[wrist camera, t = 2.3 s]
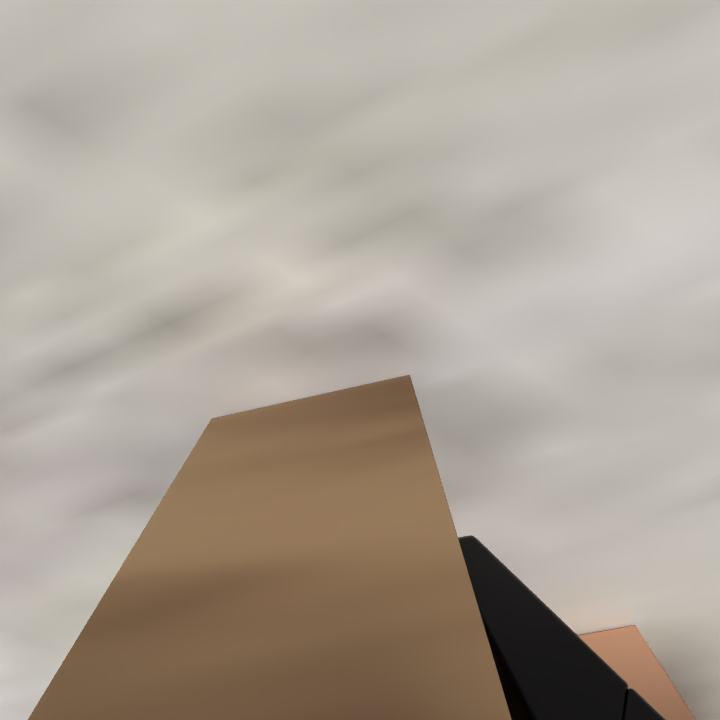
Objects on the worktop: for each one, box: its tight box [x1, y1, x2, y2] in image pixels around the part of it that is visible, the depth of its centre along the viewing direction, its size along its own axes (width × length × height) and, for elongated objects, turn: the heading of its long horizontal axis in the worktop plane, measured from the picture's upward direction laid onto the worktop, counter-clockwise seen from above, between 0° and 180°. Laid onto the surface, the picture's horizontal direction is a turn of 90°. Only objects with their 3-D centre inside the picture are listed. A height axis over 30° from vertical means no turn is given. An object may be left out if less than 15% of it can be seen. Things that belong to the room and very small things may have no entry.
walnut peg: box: [28, 375, 512, 720], centre depth 7 cm, size 4×4×10 cm
